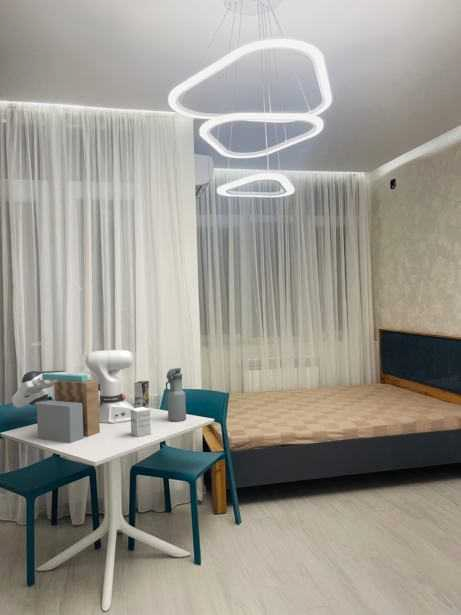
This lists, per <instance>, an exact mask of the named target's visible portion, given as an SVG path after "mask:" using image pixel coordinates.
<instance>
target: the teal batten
mask: <svg viewBox="0 0 461 615" xmlns="http://www.w3.org/2000/svg"><path fill="white" fill-rule="evenodd" d="M42 379H43V380H52V381H69V382H86V381H88V375H76V373H69V374H56V373H46V374H42Z"/></svg>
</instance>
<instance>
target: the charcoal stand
mask: <svg viewBox="0 0 461 615" xmlns="http://www.w3.org/2000/svg"><path fill="white" fill-rule="evenodd" d="M36 420H37V426H36V427H37V439H41V440H48V441H54V442H62V443H69V444H73V443H74V442H77V441H80V440H83V439H84V436H83V410H82V403H76V402H64V401H55V400H45V401H44V402H40V403H37V405H36Z"/></svg>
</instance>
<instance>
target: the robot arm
mask: <svg viewBox="0 0 461 615" xmlns="http://www.w3.org/2000/svg"><path fill="white" fill-rule="evenodd" d="M84 362H85V365H86V367H87V369H88V370H89V372H87V371H85V372H77V373H75V374H76V375H88V380H92V381H98V392H99V393H100V395H99V423H104V424H105V423H107V424H117V423H123V422H129V421H130V422H131V409H133V408H135V406H134V405H132V404H131V403H130V402H128V401H127V400H126V398H127V396H126V395H125V394H123V393H122V392H121V390H122V388H121V380H120V378H119V377H117V376H115V375H117V374H118V373H120V371H121V370H125V369H129V368H130V367H131V366H132V365H133V362H134V356H133V353H132V352H131V351H129V350H127V349H112V350H111V349H110V350H109V349H108V350H95V351H90V352H88V354H87V355H86V357H85V361H84ZM46 373H56V374H70V373H68V372H66V371H64V370H48V371H47V370H46V371H43V370H42V371H38V370H32V371H28V372H26V373H24V374H23V376H22V379H21V384H19V385H18V386H17V391H16V392H15V393H14V395H13V396H12V397H11V402H12V404H13V406H14V407H15V408H18V409H21V408H23V407H25V406H28V405H30V406H37V403H40V402H45V401H47V399H48V397H49V392H48V390H47V389H50V388H52V387H54V381H52V380H43V379H42V374H46Z"/></svg>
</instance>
